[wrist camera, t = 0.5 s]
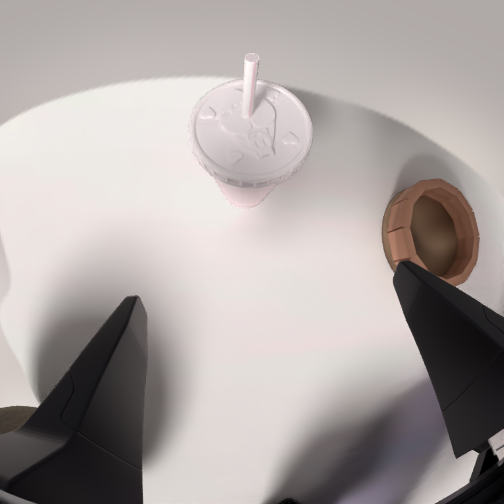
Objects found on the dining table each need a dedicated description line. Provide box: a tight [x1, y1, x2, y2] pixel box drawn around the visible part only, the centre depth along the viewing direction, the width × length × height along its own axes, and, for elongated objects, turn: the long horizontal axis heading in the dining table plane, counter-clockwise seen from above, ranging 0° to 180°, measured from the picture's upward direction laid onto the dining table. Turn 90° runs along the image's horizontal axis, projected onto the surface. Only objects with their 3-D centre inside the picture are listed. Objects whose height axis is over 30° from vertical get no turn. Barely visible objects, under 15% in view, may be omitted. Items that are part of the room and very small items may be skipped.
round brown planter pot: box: [382, 179, 480, 286], centre depth 22 cm, size 10×10×3 cm
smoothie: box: [189, 53, 313, 208], centre depth 16 cm, size 6×6×14 cm
